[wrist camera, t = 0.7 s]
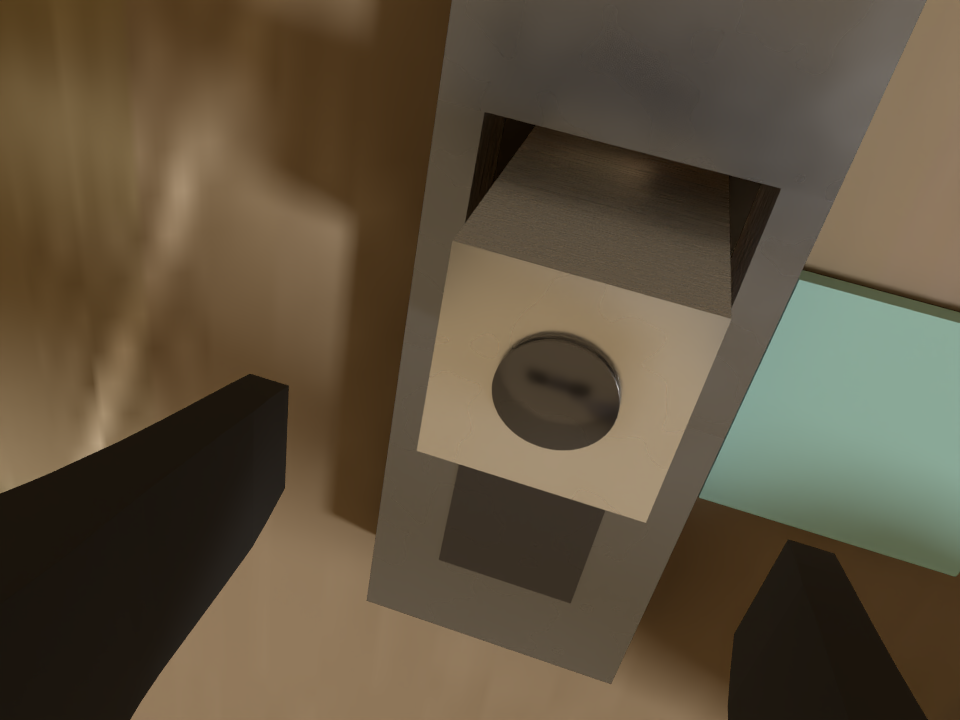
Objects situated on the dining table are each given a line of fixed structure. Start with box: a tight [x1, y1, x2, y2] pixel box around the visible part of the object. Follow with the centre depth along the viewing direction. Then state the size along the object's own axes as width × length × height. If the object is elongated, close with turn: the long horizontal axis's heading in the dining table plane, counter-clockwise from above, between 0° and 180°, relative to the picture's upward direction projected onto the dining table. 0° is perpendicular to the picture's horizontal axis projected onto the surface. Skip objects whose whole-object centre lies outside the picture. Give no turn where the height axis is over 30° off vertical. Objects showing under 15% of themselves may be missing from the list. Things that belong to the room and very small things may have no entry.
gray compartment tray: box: [367, 0, 927, 684], centre depth 20 cm, size 8×20×3 cm, turn 170°
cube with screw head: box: [417, 125, 732, 523], centre depth 16 cm, size 4×4×7 cm
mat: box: [699, 270, 960, 577], centre depth 20 cm, size 7×7×1 cm
